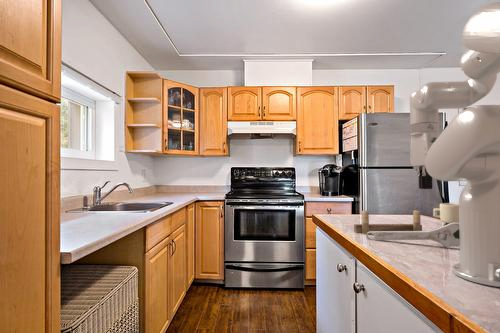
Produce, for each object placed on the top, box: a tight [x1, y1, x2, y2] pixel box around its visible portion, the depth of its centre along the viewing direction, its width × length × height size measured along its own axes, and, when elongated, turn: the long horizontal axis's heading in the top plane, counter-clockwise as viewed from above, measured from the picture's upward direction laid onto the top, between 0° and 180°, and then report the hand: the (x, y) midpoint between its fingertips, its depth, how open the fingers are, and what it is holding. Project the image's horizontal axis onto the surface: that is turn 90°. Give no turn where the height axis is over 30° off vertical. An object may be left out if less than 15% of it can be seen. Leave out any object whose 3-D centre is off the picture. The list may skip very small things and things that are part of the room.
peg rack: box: [353, 209, 423, 236], centre depth 109 cm, size 5×26×9 cm, turn 89°
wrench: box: [365, 223, 460, 249], centre depth 92 cm, size 8×2×30 cm
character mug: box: [432, 202, 460, 239], centre depth 95 cm, size 11×7×13 cm, turn 55°
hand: (425, 188), depth 85 cm, fingers closed
